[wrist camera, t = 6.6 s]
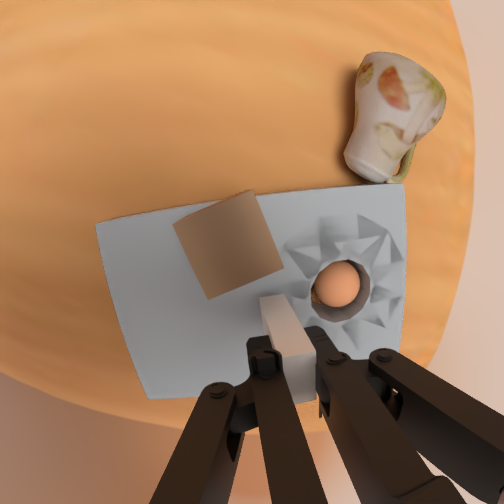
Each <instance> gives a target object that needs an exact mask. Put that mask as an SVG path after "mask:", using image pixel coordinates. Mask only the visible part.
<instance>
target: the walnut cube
mask: <svg viewBox="0 0 504 504" xmlns="http://www.w3.org/2000/svg"><path fill="white" fill-rule="evenodd" d="M172 225H173V227H174V230H175V232H176V234H177V236H178V238H179V241H180V243H181V245H182V247H183V249H184V252H185V254H186V256H187V258H188V260H189V262H190V264H191V266H192V269H193V271H194V273H195V275H196V277H197V279H198V281H199V283H200V285H201V287H202V289H203V291H204V293H205V295H206V297H207V299H208V300H210V299H212V298H215V297H217V296H219V295H222V294H224V293H227V292H229V291H232V290H234V289H236V288H239V287H241V286H244V285H246V284H248V283H251V282H253V281H256V280H258V279H260V278H263V277H265V276H267V275H270V274H272V273H274V272H277V271H279V270H281V269H284V266H283V263H282V261H281V258H280V256H279V253H278V250H277V248H276V245H275V243H274V240H273V238H272V235H271V233H270V230H269V228H268V225H267V223H266V220H265V218H264V216H263V213H262V211H261V208H260V206H259V203H258V201H257V198H256V196H255V194H254V191H253V190H245V191H243V192H241V193H238V194H236V195H233V196H231V197H229V198H226V199H224V200H222V201H219V202H217V203H215V204H212V205H210V206H208V207H205V208H203V209H201V210H199V211H196V212H194V213H192V214H190V215H187V216H185V217H183V218H182V219H180V220H179V221H177V222H176V223H174V224H172Z"/></svg>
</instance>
